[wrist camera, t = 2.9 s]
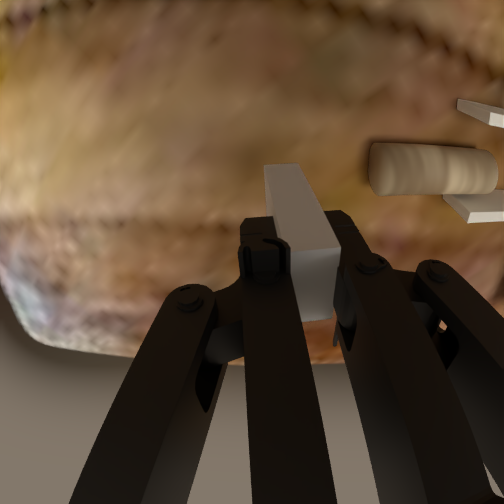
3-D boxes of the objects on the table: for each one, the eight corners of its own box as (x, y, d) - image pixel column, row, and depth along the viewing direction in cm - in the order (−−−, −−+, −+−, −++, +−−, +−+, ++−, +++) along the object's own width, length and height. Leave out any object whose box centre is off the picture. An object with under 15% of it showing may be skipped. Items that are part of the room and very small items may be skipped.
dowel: (364, 160, 19) (375, 204, 19) (378, 132, 16) (393, 180, 15) (466, 163, 19) (479, 201, 18) (487, 141, 16) (503, 182, 15)
